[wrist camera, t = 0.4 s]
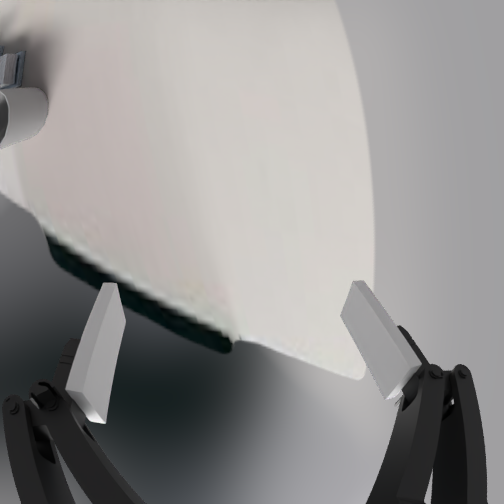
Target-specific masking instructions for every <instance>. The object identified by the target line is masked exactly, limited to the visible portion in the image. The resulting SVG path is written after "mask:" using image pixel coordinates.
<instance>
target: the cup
mask: <svg viewBox="0 0 504 504" xmlns="http://www.w3.org/2000/svg"><path fill="white" fill-rule="evenodd" d="M47 115H48V100H47V98H46V95H45V93H44V92H43V91H42V90H41V89H39V88H38V87H37V88H12V89H0V149H2V148H5V147H7V146H10V145H13V144H15V143H18V142H21V141H24V140H27V139H29V138H31V137H33V136H35V135H37V134H38V133H39V131H40V130H41V129H42V127H43V126H44V124H45V121H46V118H47Z"/></svg>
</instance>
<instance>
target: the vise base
mask: <svg viewBox="0 0 504 504" xmlns="http://www.w3.org/2000/svg"><path fill="white" fill-rule="evenodd" d="M3 49H4V46H0V57H1V56H2V55H3ZM25 52H26V51H20V52H18V53H15V54H18V58H17V64H16V72H15V81H14V84H12V85H9V86H7V87H4V88H1V89H12V88H16V87H19V86H21V84H22V74H23V66H24V59H25Z"/></svg>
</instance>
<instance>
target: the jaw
mask: <svg viewBox="0 0 504 504" xmlns="http://www.w3.org/2000/svg"><path fill="white" fill-rule="evenodd" d="M17 58H18V54H8V53H7V54H5V55H3V56H1V57H0V89H1V88H4V87H7V86H9V85H12V84H14V81H15V72H16V64H17Z"/></svg>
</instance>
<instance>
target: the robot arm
mask: <svg viewBox="0 0 504 504" xmlns="http://www.w3.org/2000/svg"><path fill="white" fill-rule="evenodd" d="M340 316H341V318H342V320H343V322H344V324H345V325H346V327H347V329H348V331H349V333H350V335H351V336H352V338H353V340H354V342H355V344H356V346H357V347H358V349H359V351H360V353H361V355H362V357H363V359H364V361H365V363H366V364H367V366H368V368H369V370H370V372H371V374H372V376H373V378H374V380H375V382H376V384H377V386H378V388H379V390H380V392H381V394H382V396H383V398H384V400H387V399H390V398H393V397H396V396H397V395H398V393H399V392H400V391H401V390H402V392H403V395H402V397H401V398H400V399H399V400H398V401H397V402H396V403H395V406H397V405H398V404H399V403H400V405H399V409H398V413H397V417H396V421H395V425H394V428H393V432H392V435H391V438H390V442H389V445H388V448H387V451H386V454H385V457H384V460H383V463H382V465H381V469H380V471H379V474H378V476H377V479H376V481H375V484H374V486H373V489H372V491H371V493H370V496H369V498H368V500H367V502H366V504H426V503H424V498H425V494H426V491H427V488H428V484H429V480H430V476H431V473H432V468H433V479H432V496H431V504H488V503H487V469H486V456H485V455H486V454H485V444H484V436H483V429H482V422H481V416H480V410H479V405H478V400H477V396H476V391H475V387H474V383H473V379H472V375H471V372H470V370H469V369H468V368H467V367H466V366H464V365H462V364H458V365H457V366H455V368H454V369H453V370H452V371H443V370H442V369H441V368H440V367H439V366H437V365H435V364H429V363H428V361H427V360H426V358H425V356H424V355H423V353H422V352H421V350H420V349H419V348H418V346H417V345H416V343H415V342H414V340H413V339H412V337H411V336H410V334H409V333H408V332H407V331H406V330H405V329H404V328H403V327H401V326H396V325H395V323H394V322H393V320H392V319H391V317H390V316H389V315H388V313H387V312H386V310H385V309H384V308H383V306H382V305H381V303H380V302H379V301H378V299H377V298H376V297H375V295H374V294H373V292H372V291H371V290H370V288H369V287H368V286H367V284H366V283H365V282H364V281H353V282H352V285H351V288H350V291H349V294H348V296H347V299H346V302H345V304H344V307H343V310H342V312H341V315H340ZM125 323H126V320H125V316H124V312H123V308H122V304H121V300H120V296H119V292H118V287H117V283H103V285H102V288H101V290H100V292H99V295H98V297H97V299H96V302H95V304H94V307H93V309H92V312H91V314H90V317H89V319H88V322H87V324H86V327H85V330H84V332H83V335H82V338H81V339H74V338H71V339H70V340H69V341H68V343H67V344H66V345H65V346H64V349H63V352H62V354H61V355H62V356H61V357H60V360H59V363H58V366H57V369H56V372H55V375H54V378H53V381H52V382H51V381H49V380H47V379H40V380H37V381H36V382H34V383H33V384H32V386H31V387H30V390H29V399H30V400H28V401H23V400H22V398H20V396H18V395H10V396H8V397H7V398H6V399H5V400H4V402H3V407H2V411H3V422H4V431H5V438H6V443H7V450H8V455H9V460H10V465H11V468H12V473H13V477H14V481H15V485H16V488H17V492H18V495H19V498H20V501H21V504H75V501H74V499H73V497H72V494H71V492H70V489H69V487H68V484H67V481H66V478H65V476H64V473H63V470H62V467H61V464H60V461H59V457H58V454H57V451H56V447H55V444H56V446H57V448H58V450H59V452H60V454H61V456H62V457H63V459H64V461H65V463H66V464H67V466H68V468H69V469H70V471H71V473H72V474H73V476H74V477H75V479H76V481H77V482H78V484H79V485H80V486H81V488H82V489H83V491H84V492H85V494H86V495H87V497H88V498H89V499H90V501H91V502H92V503H93V504H146V503H145V502H144V501H143V500H142V499H141V497H140V496H139V495H138V494H137V493H136V492H135V491H134V490H133V488H132V487H131V486H130V485H129V484H128V483H127V481H126V480H125V479H124V478H123V476H122V475H121V474H120V473H119V471H118V470H117V469H116V468H115V466H114V465H113V464H112V462H111V461H110V460H109V458H108V457H107V455H106V454H105V453H104V451H103V450H102V448H101V447H100V445H99V444H98V442H97V441H96V440H95V438H94V436H93V435H92V433H91V432H90V430H89V428H88V427H87V425H86V424H85V418H86V416H87V418H88V419H89V420H90V421H92V422H98V423H104V424H105V423H106V417H107V411H108V404H109V398H110V392H111V387H112V381H113V376H114V371H115V366H116V361H117V357H118V352H119V348H120V343H121V339H122V335H123V331H124V327H125ZM452 399H454V404H453V405H452V402H451V400H452Z"/></svg>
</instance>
